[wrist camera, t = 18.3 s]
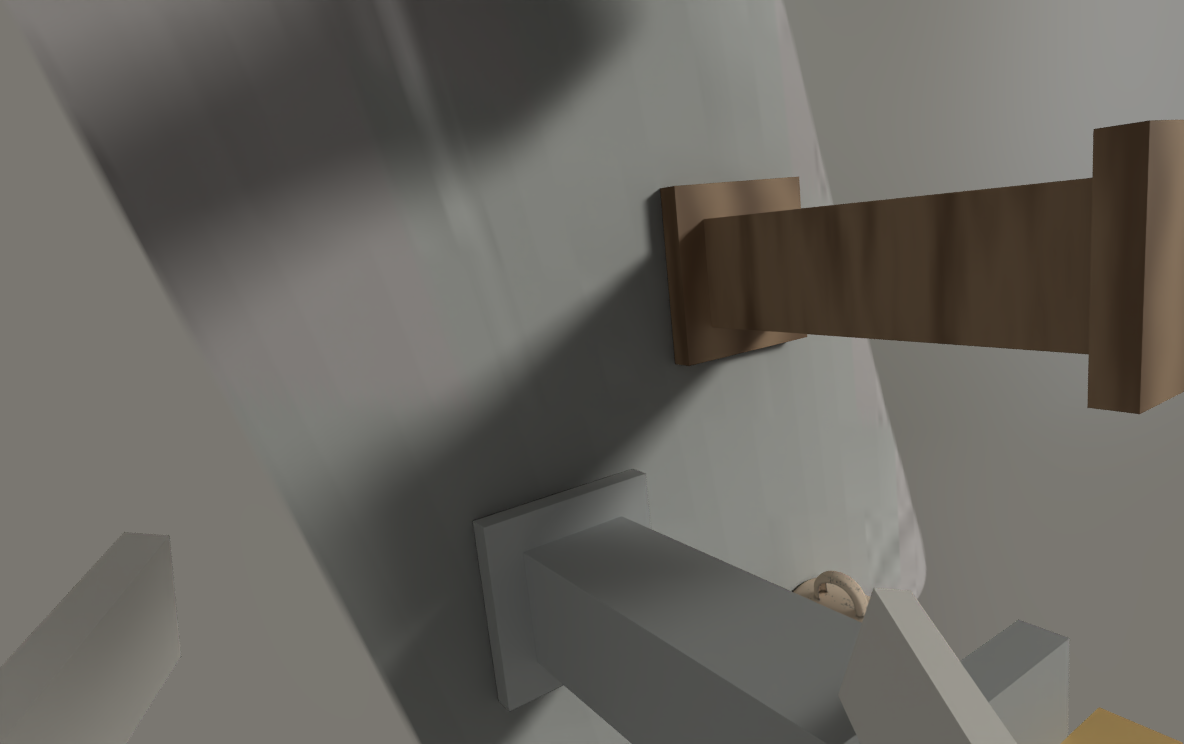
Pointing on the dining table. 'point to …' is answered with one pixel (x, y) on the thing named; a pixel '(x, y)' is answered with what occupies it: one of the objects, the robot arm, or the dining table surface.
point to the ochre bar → (1114, 731)
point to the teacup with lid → (836, 594)
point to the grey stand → (699, 633)
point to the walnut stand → (951, 267)
